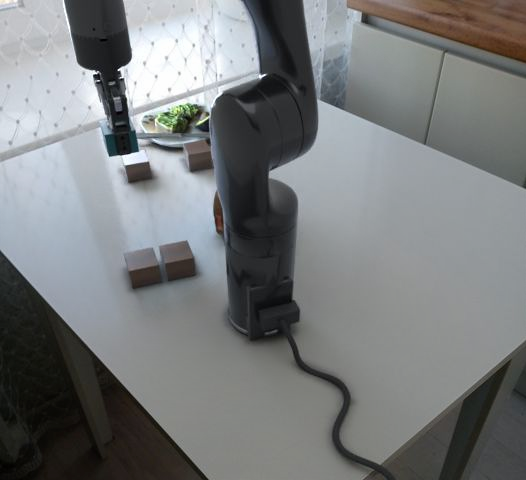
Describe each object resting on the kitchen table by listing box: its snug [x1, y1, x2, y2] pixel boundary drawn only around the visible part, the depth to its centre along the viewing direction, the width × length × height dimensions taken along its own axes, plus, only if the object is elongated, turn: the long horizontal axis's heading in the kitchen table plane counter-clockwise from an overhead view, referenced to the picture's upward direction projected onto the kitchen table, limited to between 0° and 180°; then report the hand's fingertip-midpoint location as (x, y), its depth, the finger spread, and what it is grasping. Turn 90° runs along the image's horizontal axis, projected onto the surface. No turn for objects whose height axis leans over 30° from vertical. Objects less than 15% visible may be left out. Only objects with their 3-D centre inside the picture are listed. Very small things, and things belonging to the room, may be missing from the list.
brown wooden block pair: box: [123, 239, 197, 289], centre depth 86 cm, size 5×10×4 cm, turn 109°
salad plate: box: [136, 101, 211, 148], centre depth 116 cm, size 19×18×5 cm
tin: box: [212, 189, 224, 236], centre depth 94 cm, size 15×3×8 cm, turn 168°
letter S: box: [99, 115, 140, 158], centre depth 84 cm, size 5×5×4 cm
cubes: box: [120, 140, 213, 183], centre depth 107 cm, size 5×17×4 cm, turn 109°
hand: (121, 145), depth 85 cm, fingers closed on letter S, 4 cm apart
